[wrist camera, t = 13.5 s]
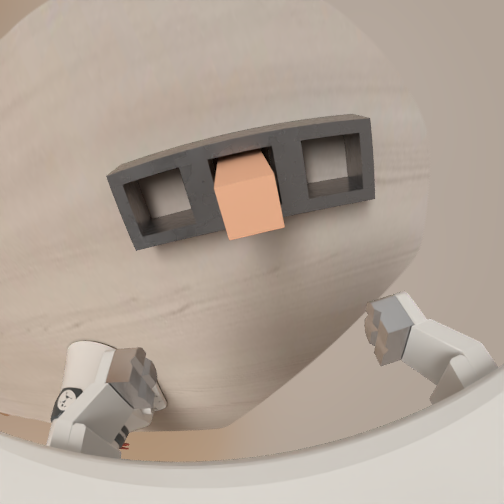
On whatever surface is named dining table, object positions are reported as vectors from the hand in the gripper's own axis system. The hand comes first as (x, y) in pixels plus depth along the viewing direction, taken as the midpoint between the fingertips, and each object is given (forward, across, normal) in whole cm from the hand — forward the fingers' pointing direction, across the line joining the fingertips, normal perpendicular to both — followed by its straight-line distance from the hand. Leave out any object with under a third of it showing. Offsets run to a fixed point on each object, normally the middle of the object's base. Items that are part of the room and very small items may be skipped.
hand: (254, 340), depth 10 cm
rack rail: (+21, +1, 0) cm, 21 cm away
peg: (+21, +1, 0) cm, 21 cm away
